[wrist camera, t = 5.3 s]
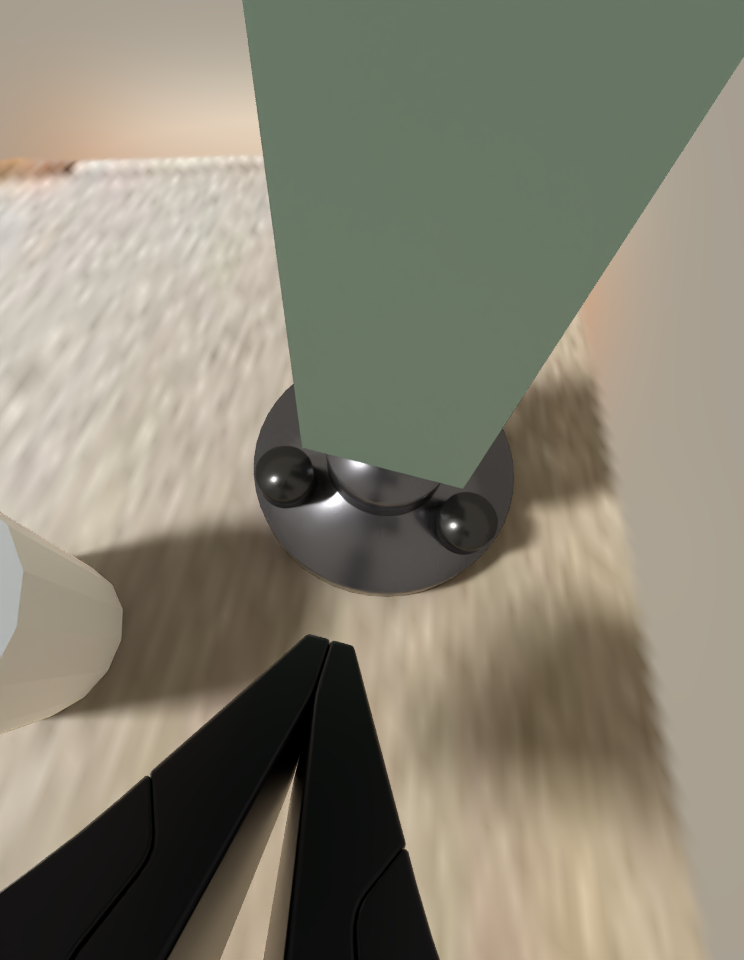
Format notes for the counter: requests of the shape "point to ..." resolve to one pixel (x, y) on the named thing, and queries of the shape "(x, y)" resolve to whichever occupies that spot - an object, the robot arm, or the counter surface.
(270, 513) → the base
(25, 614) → the white cup
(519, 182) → the dome-topped green pillar
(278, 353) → the counter surface
